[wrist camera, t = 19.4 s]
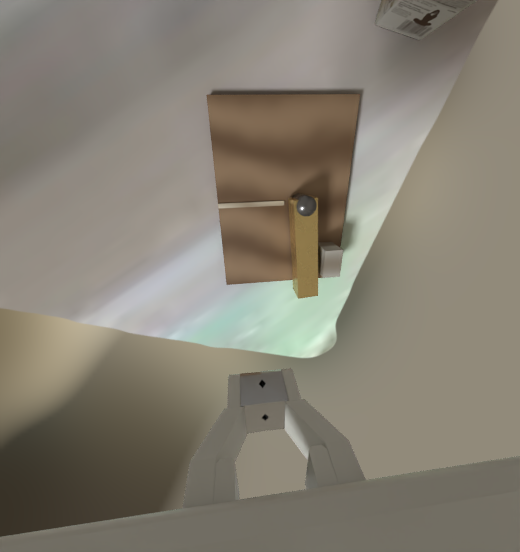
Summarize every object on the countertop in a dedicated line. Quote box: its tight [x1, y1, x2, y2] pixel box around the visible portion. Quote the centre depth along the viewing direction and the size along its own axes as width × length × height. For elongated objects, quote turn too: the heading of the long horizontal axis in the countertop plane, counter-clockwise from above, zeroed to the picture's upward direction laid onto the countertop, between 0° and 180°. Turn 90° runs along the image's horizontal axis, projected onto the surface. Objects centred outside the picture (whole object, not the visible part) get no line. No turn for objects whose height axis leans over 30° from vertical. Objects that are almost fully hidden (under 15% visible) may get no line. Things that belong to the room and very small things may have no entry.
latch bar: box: [288, 193, 318, 299], centre depth 31 cm, size 14×3×4 cm, turn 6°
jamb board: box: [207, 94, 360, 285], centre depth 29 cm, size 24×18×5 cm
